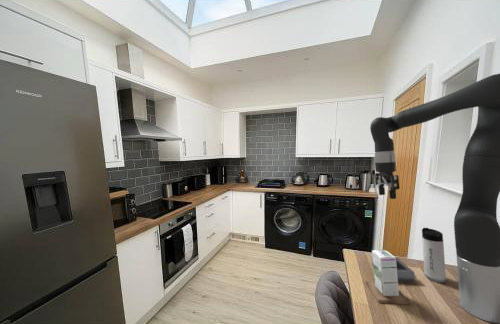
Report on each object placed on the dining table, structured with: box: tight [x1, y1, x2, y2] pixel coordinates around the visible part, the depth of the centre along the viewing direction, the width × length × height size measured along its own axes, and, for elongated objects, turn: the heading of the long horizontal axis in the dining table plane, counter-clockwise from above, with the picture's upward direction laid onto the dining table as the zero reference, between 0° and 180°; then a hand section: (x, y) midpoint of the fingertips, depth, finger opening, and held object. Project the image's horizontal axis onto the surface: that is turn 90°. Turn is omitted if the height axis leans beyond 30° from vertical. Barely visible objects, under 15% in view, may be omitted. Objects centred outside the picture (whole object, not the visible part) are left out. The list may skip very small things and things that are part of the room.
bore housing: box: [371, 257, 416, 283], centre depth 80 cm, size 11×11×4 cm
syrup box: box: [371, 249, 400, 296], centre depth 69 cm, size 6×6×14 cm
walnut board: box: [365, 280, 411, 305], centre depth 69 cm, size 10×10×1 cm
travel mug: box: [421, 227, 447, 283], centre depth 76 cm, size 6×7×20 cm
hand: (387, 196), depth 82 cm, fingers open, 8 cm apart
